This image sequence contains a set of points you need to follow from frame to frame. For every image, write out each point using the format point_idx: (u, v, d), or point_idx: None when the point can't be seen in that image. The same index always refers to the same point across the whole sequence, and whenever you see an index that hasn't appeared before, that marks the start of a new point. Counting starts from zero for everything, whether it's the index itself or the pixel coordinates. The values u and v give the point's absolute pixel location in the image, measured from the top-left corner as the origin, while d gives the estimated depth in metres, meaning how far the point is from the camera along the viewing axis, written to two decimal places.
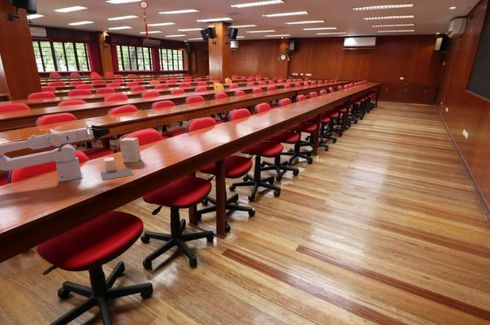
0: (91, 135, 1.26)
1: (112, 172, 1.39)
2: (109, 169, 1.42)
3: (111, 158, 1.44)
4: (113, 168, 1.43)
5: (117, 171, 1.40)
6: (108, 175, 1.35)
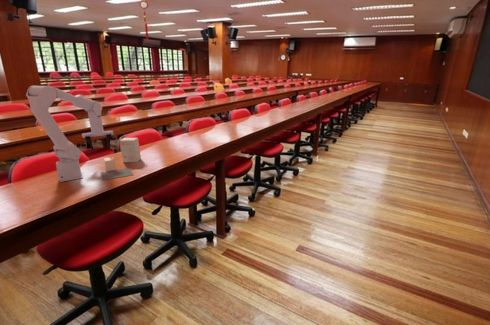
0: None
1: (112, 172, 1.39)
2: (109, 169, 1.42)
3: (111, 158, 1.44)
4: (113, 168, 1.43)
5: (117, 171, 1.40)
6: (108, 175, 1.35)
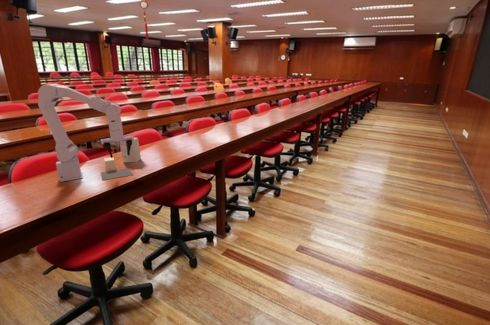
0: (133, 138, 1.35)
1: (112, 172, 1.39)
2: (109, 169, 1.42)
3: (111, 158, 1.44)
4: (113, 168, 1.43)
5: (117, 171, 1.40)
6: (108, 175, 1.35)
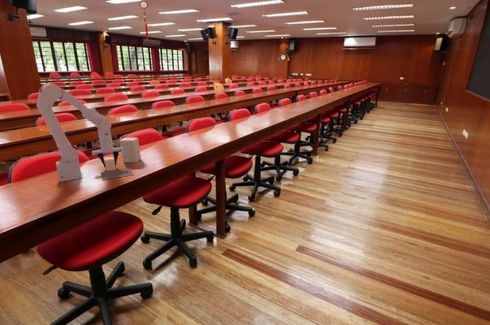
0: (122, 149, 1.46)
1: (112, 172, 1.39)
2: (109, 169, 1.42)
3: (111, 158, 1.44)
4: (113, 168, 1.43)
5: (117, 171, 1.40)
6: (108, 175, 1.35)
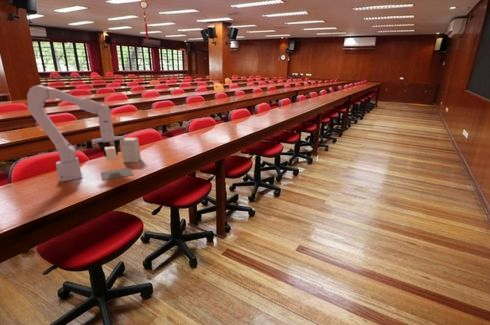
0: None
1: (112, 172, 1.39)
2: (110, 158, 1.36)
3: (112, 147, 1.39)
4: (114, 157, 1.37)
5: (117, 171, 1.40)
6: (108, 175, 1.35)
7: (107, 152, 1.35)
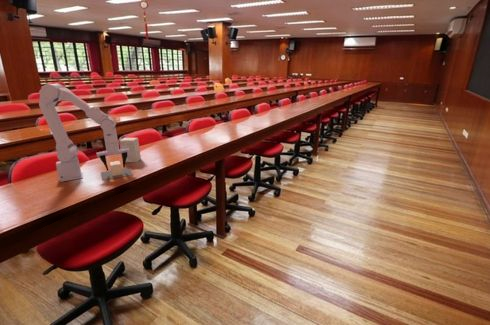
0: None
1: None
2: (115, 174, 1.35)
3: (117, 162, 1.37)
4: (119, 173, 1.36)
5: None
6: (108, 175, 1.35)
7: (112, 167, 1.33)
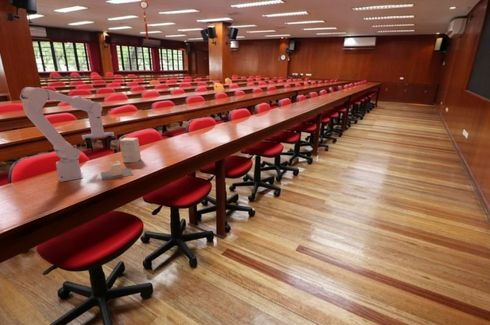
0: (113, 134, 1.44)
1: None
2: (115, 174, 1.35)
3: (117, 162, 1.37)
4: (119, 173, 1.36)
5: None
6: (108, 175, 1.35)
7: (112, 167, 1.33)
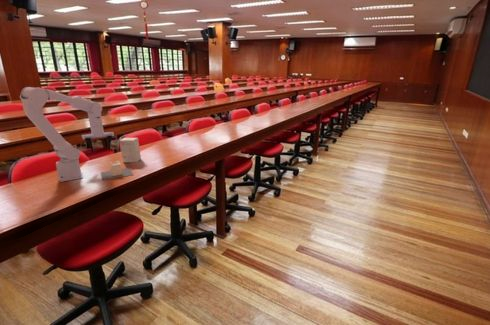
0: (113, 134, 1.44)
1: None
2: (115, 174, 1.35)
3: (117, 162, 1.37)
4: (119, 173, 1.36)
5: None
6: (108, 175, 1.35)
7: (112, 167, 1.33)
